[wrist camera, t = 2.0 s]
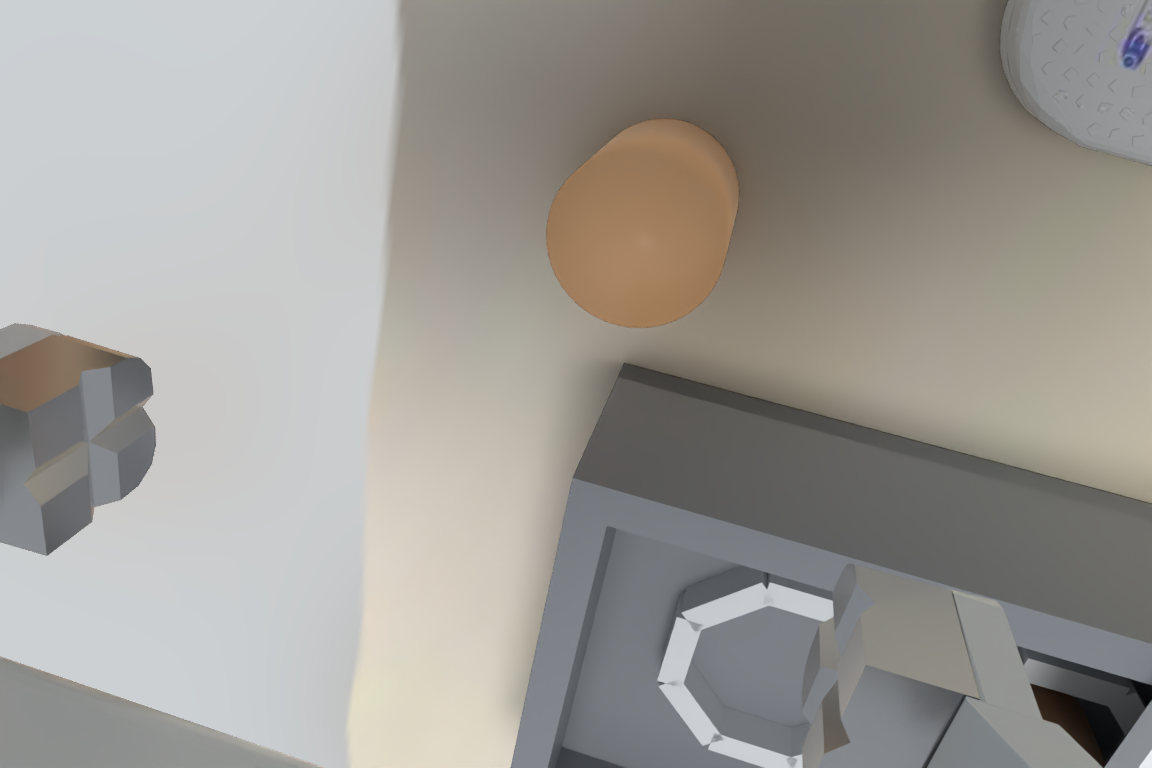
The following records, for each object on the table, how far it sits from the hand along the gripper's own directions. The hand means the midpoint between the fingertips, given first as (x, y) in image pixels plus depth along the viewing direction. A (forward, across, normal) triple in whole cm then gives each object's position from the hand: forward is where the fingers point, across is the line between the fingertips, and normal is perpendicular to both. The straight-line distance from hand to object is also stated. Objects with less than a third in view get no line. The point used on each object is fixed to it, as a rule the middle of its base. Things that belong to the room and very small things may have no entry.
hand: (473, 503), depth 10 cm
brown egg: (+15, 0, 0) cm, 15 cm away
